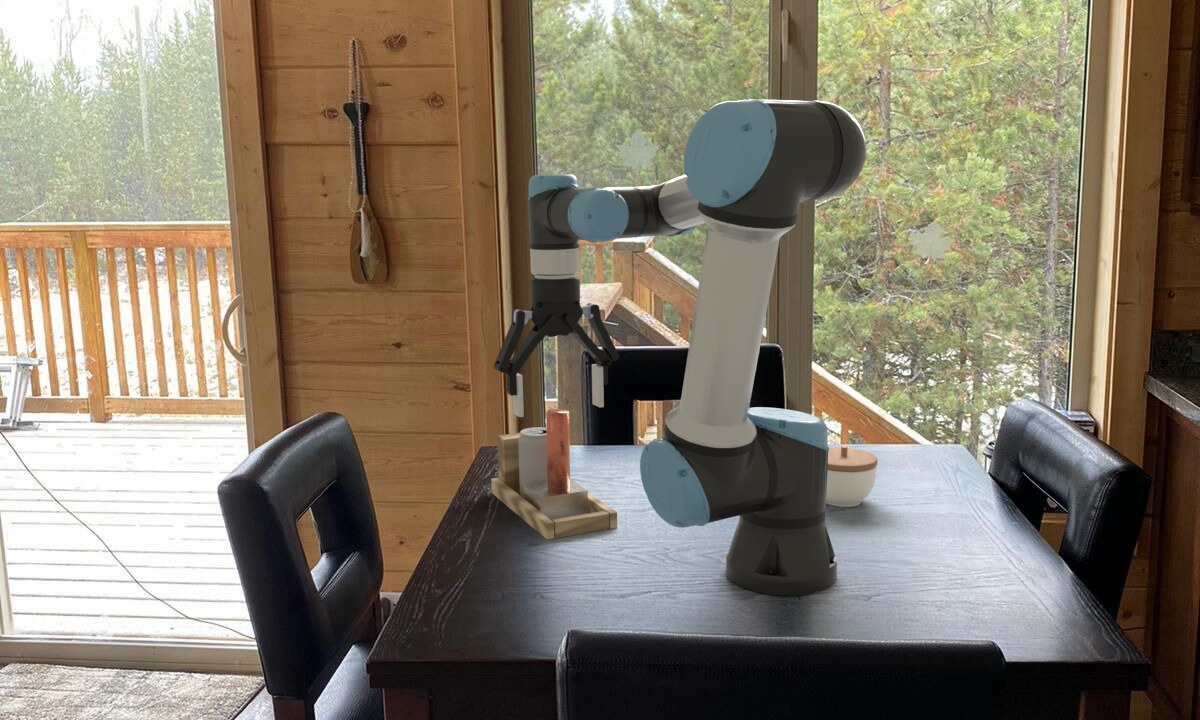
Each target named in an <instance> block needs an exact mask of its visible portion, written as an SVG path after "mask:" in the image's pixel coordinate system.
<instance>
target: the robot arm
mask: <svg viewBox="0 0 1200 720" xmlns="http://www.w3.org/2000/svg"><path fill="white" fill-rule="evenodd" d="M686 141H687V142H686V144H685V149H684V151H683V152H684V153H683V175H681V176H677V177H675V178H672V179H670V180H667V181H664V182H662V183H658V184H655V185H647V186H646V185H645V186H622V187H621V186H618V187H617V186H616V187H613V186H612V187H589V188H588V187H587V188H584V187H581V188H579V184H578V179H577V176H575V175H574V174H570V173H568V174H567V173H564V174H561V173H558V174H557V173H555V174H554V173H553V174H535V175H532V176H531V177H530V178H529V181H528V197H527V206H528V225H529V227H528V228H529V245H530V248H529V252H530V253H529V256H530V273H531V274H532V275H534V276H533V277H532V278H531V280H530V284H531V285H530V287H531V289H530V292H531V308H530V310H522V309H517V308H515V309H513V310H512V313H511V324H510V326H509V328H508V330H507V333H506V335H505V338H504V341H503V343H502V345H501V347H500V350H499V352H498V354H497V357H496V359H495V362H494V364H493V369H494V370H496V371H497V372H500V373H504V374H505V379H506V384H505V385H506V393H507V395H510V397H511V396H512V397H511V398H512V414H513V415H515V416H516V417H518V418H523V417H525V414H524V412H525V411H524V384H523V383H524V382H523V381H524V380H523V379H524V378H523V374H520V373H519V372H520V370H521V369H522V368H523V366H524V365H525V363H526V362H527V361H528V359H529V358H530V356H531V355H532V354H533V352H534V351H535V349H537V348H536V347H537V346H538V345H539V344H540V342H541V341H543V340H544V339H545V337H549V338H554V337H557V336H564V337H565V336H569V335H570V334H571V335H572V336H573V337H574V338H575V339H576V341H577V342H579V344H580V345H581V346H582V347H583V348H584V350H585V351H586V352H587V353H588V354H589V355H590V356H591V357H592V358H593V360H594V361H595V362H596V363H594V364H593V363H592V364H591V393H592V394H591V395H592V396H591V398H592V401H591V402H592V404H591V405H593V406H596V407H598V408H604V407H605V401H604V400H605V398H604V397H605V396H604V395H605V394H604V393H605V390H604V389H605V388H604V386H607V385H608V383H609V367H610V366H611V364H612V363H613V362H615V361H618V360H619V359H620V354H619V353H618V350H617V348H616V347H615V345H614V342H613V340H612V338H611V337H610V334H609V333H608V330H607V328H606V326H605V324H604V322H603V319H602V318H601V311H600V306H599V305H598V304H595V303H592V302H589V303H587V304H585V305H583V306H582V305H581V302H580V300H581V281H580V280H581V279H580V278H579V276H577V274H579V273H580V271H581V269H580V248H579V247H580V243H579V240H580V241H587V242H589V243H594V244H595V243H606V242H612V241H614V240H615V239H616V240H619V239H631V238H632V239H633V238H634V239H635V238H644V237H657V236H658V237H660V236H665V237H666V236H667V237H674V236H680V235H684V234H685V235H686V234H689V233H691V232H694V231H695V229H696V227H697V226H699V225H702V224H706V226H707V228H706V230H707V231H706V237H705V243H704V247H703V248H704V250H703V255H702V263H701V266H700V275H699V282H698V287H697V295H696V300H695V307H694V313H693V320H692V324H691V325H692V327H691V333H690V338H689V345H688V351H687V358H686V364H685V365H686V366H685V369H684V370H685V371H684V378H683V383H682V384H683V385H682V388H681V389H682V391H681V397H680V402H679V405H678V406H676V407H674V408H672V409H671V410H670V411H668V413H667V415H666V417H665V422H664V429H663V434H662V437H661V438H653V439H652V441H651V440H650V441H649V442H648V443H647V444H646V445H644V447H643V449H642V452H641V454H640V461H639V468H640V469H639V472H640V477H641V483H642V487H643V490H644V493H645V494H646V496H647V499H648V502H649V503H650V505H651V507H652V509H653V510H654V511H655V513H656V514H657V515H658V516H659V518H660V519H661V520H663V521H664V522H665V523H667V524H668V525H670V526H672V527H675V528H681V529H683V528H690V527H693V526H694V527H695V526H697V527H698V526H699V527H703V526H704V527H705V526H706V525H707V524H710V523H713V522H714V523H715V522H718V521H722V520H723V521H724V520H726V519H730V518H735V517H739V518H738V519H739V520H738V523H737V525H736V528H735V532H734V534H733V537H732V540H731V542H730V546H729V550H728V551H727V553H726V558H725V575H726V577H727V578H728V579H729V580H730V581H731V582H732V583H734V584H736V585H738V586H739V587H741V588H743V589H746V590H749V591H753V592H757V593H762V594H765V595H766V594H767V595H775V596H801V595H810V594H814V593H819V592H821V591H824V590H827V589H828V588H830V587H831V586H833V585H834V584H835V583H836V581H837V576H838V575H837V572H838V571H837V570H838V569H837V568H838V563H837V557H836V555H835V552H834V549H833V545H832V541H831V539H830V538H831V537H830V535H829V531H828V528H827V525H826V517H827V515H826V512H827V508H826V507H827V506H826V505H827V503H826V490H827V468H828V451H829V448H830V447H829V446H828V445H829V444H828V443H829V442H828V440H829V439H828V438H829V437H828V427H827V424H826V423H825V421H823V420H822V419H821V418H820V417H818V416H815V415H812V414H810V413H807V412H804V411H803V412H802V411H798V410H793V409H785V408H779V407H778V408H777V407H766V406H765V407H763V406H758V407H757V406H756V407H750V403H751V398H752V393H753V387H754V381H755V376H756V371H757V365H758V361H759V360H758V359H759V355H760V348H761V342H762V337H763V333H764V328H765V327H764V326H765V322H766V317H767V312H768V311H767V310H768V305H769V299H770V294H771V288H772V283H773V278H774V272H775V268H776V260H777V257H778V256H777V255H778V249H779V245H780V239H781V237H782V236H783V235H785V234H787V233H788V232H789V231H791V230H792V229H794V228H795V226H797V224H796V223H797V219H798V213H799V209H800V203H806V202H809V201H819V200H825V199H828V198H829V199H830V198H832V197H833V198H834V197H835V196H838V195H839V194H842V193H844V192H846V190H848V189H849V188H850V187H851V186H852V185H853V184H854V183H855V182H856V181H857V179H858V178H859V176H860V174H861V172H862V170H863V168H864V166H865V162H866V155H867V145H866V138H865V136H864V132H863V129H862V127H861V126H860V124H859V122H858V121H857V119H856V118H855V117H854V116H853V115H852V114H851V113H849V112H848V111H847V110H846V109H844V108H843V107H842V106H840V105H839V106H838V105H837V104H835V103H831V102H828V101H825V100H789V99H787V100H786V99H785V100H784V99H783V100H782V99H755V98H744V99H741V100H728V101H723V102H720V103H717V104H714V105H713V106H711V107H710V108H708V110H707V111H706V112H704V113H703V114H701V115H700V117H699V118H698V119H697V120H696V122H695V124H693V127H692V129H691V131H690V133H689V135H688V137H687V140H686ZM582 316H584V318H585V319H587V320H588V323H589V325H590V326H591V329H592V331H593V333H594V335H595V336H596V338H597V341H598V343H599V345H600V346H601V349H602V350H601V349H600V348H599V347H598V346H597V345H596V343H595V342H594V341H593V339H591V338H590V337H589V335H588V334H587V333H586V332H585V330H584V328H582V326H581V325H580V324H579V321H580V320H581V318H582ZM529 320H531V321H532V322H533V326H532V327H531V329H530V330H529V332H528V334H527V336H526V337H525V339H524V341H523V342H522V343H521V345H520V346H519V347H518V349H517V350H516V347H517V345H518V343H519V340H520V338H521V337H522V334H523V331H524V328H525V325H526V324H527V323H528V322H529ZM515 350H516V351H515Z"/></svg>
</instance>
